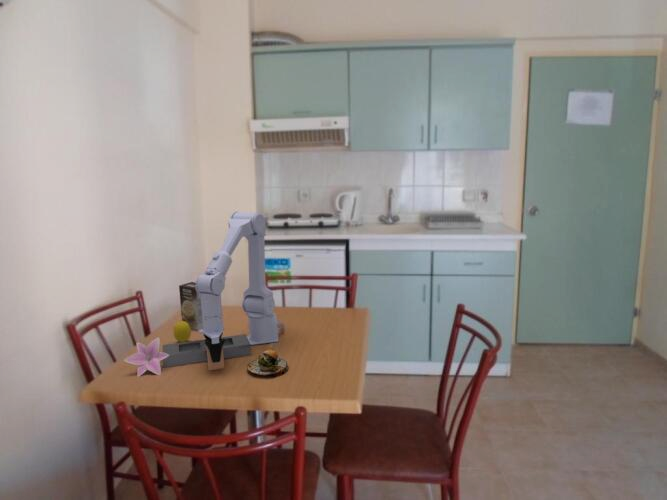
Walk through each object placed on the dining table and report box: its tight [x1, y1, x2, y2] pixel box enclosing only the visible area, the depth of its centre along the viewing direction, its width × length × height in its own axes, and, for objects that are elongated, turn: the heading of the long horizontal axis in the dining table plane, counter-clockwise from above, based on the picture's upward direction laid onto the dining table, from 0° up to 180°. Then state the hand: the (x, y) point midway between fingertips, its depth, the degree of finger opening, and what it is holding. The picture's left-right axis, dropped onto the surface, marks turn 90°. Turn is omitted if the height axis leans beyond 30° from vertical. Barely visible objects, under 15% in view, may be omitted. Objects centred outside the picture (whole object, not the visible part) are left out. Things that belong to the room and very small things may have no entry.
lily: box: [123, 337, 169, 377], centre depth 144 cm, size 11×11×9 cm
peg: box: [207, 347, 225, 371], centre depth 145 cm, size 4×4×7 cm
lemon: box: [173, 319, 192, 343], centre depth 165 cm, size 6×6×8 cm
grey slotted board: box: [161, 333, 252, 368], centre depth 154 cm, size 26×10×4 cm, turn 108°
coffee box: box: [178, 281, 203, 332], centre depth 181 cm, size 9×6×16 cm
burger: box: [246, 345, 289, 378], centre depth 142 cm, size 12×12×8 cm
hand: (215, 358), depth 145 cm, fingers closed on peg, 4 cm apart
